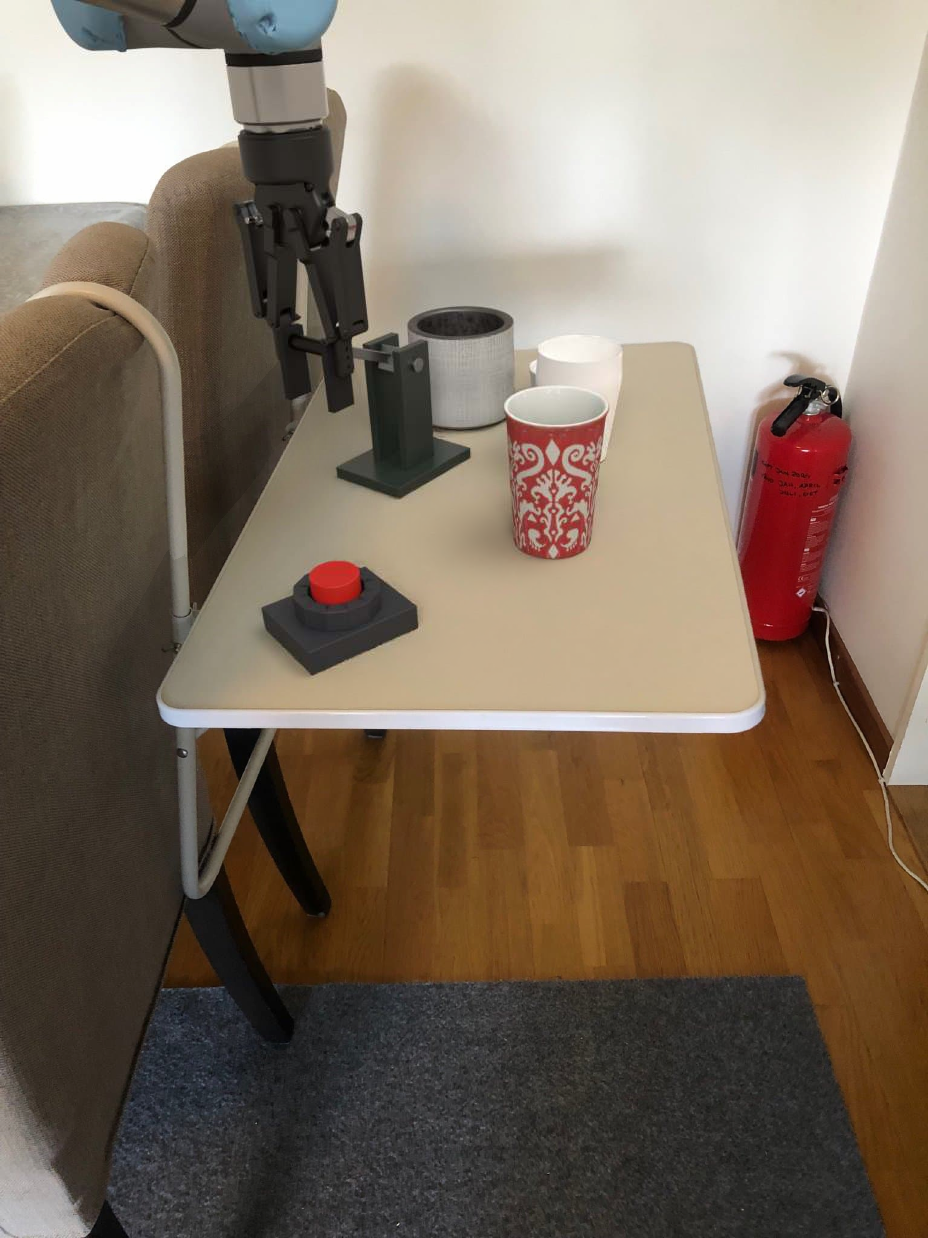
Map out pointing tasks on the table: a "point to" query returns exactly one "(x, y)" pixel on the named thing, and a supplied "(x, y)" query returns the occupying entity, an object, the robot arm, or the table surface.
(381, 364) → the switch lever
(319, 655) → the switch block
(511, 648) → the table surface
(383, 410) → the lever bracket
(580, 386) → the cup
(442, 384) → the planter
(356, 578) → the button
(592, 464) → the mug
